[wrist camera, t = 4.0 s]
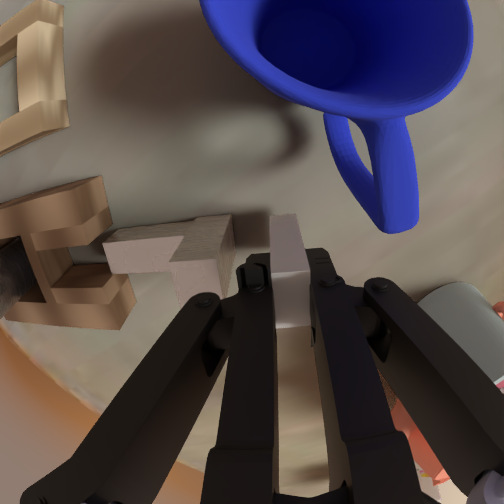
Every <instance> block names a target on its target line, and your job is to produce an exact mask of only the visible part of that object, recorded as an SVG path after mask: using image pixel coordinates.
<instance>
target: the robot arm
mask: <svg viewBox="0 0 504 504" xmlns="http://www.w3.org/2000/svg"><path fill="white" fill-rule="evenodd" d="M236 275H237V281H238V288H239V290H238V293H237V294H236V295H234V296H231V297H228V298H225V299H221V300H220V297H219V295H217V294H216V293H212V292H202V293H198V294H196V295H194V296H192V297H191V298H190V299H189V300H188V301H187V302H186V303H185V305H184V306H183V307H182V309H181V310H180V311H179V312H178V314H177V315H176V316H175V318H174V319H173V320H172V322H171V323H170V324H169V326H168V327H167V328H166V329H165V331H164V332H163V333H162V335H161V336H160V337H159V339H158V340H157V341H156V343H155V344H154V345H153V347H152V348H151V349H150V350H149V352H148V353H147V354H146V356H145V357H144V358H143V360H142V361H141V362H140V364H139V365H138V366H137V368H136V369H135V370H134V372H133V373H132V374H131V376H130V377H129V378H128V380H127V381H126V382H125V384H124V385H123V387H122V388H121V389H120V391H119V392H118V393H117V395H116V396H115V397H114V399H113V400H112V401H111V403H110V404H109V406H108V407H107V408H106V410H105V411H104V412H103V414H102V415H101V416H100V418H99V419H98V421H97V422H96V423H95V425H94V426H93V428H92V429H91V430H90V432H89V433H88V435H87V436H86V437H85V439H84V440H83V441H82V443H81V444H80V446H79V447H78V448H77V450H76V451H75V453H74V454H73V456H72V457H71V458H70V459H69V460H67V461H66V462H64V463H63V464H62V465H60V466H59V467H57V468H56V469H55V470H53V471H52V472H50V473H49V474H47V475H46V476H45V477H44V478H42V479H40V480H39V481H37V482H36V483H35V484H33V485H31V486H30V487H29V488H27V489H26V490H25V491H24V492H23V494H22V496H21V498H20V504H152V502H153V501H154V499H155V498H156V496H157V494H158V492H159V490H160V489H161V487H162V485H163V483H164V481H165V479H166V477H167V476H168V474H169V472H170V470H171V468H172V466H173V464H174V462H175V460H176V459H177V457H178V455H179V453H180V451H181V449H182V447H183V445H184V443H185V441H186V439H187V437H188V435H189V433H190V432H191V430H192V428H193V426H194V424H195V422H196V420H197V418H198V416H199V414H200V412H201V410H202V408H203V406H204V404H205V402H206V400H207V398H208V396H209V394H210V392H211V390H212V388H213V386H214V384H215V382H216V380H217V378H218V376H219V374H220V372H221V370H222V368H223V366H224V364H225V362H226V360H227V358H228V364H227V371H226V378H225V385H224V392H223V399H222V405H221V412H220V420H219V427H218V434H217V441H216V445H215V447H213V448H211V449H210V451H209V453H208V457H207V462H206V468H205V475H204V482H203V488H202V495H201V502H200V504H441V503H439V502H438V501H436V500H435V499H433V498H432V497H430V496H429V495H427V494H426V493H424V492H422V491H421V487H420V483H419V479H418V475H417V471H416V467H415V463H414V459H413V455H412V452H411V448H410V445H409V441H408V439H407V436H406V435H405V433H404V432H403V431H398V430H397V429H396V428H395V426H394V423H393V419H392V416H391V412H390V409H389V406H388V402H387V399H386V396H385V393H384V389H383V386H382V383H381V380H380V377H379V374H378V371H377V368H378V369H379V371H380V372H381V374H382V375H383V377H384V378H385V379H386V381H387V382H388V384H389V385H390V387H391V388H392V390H393V391H394V393H395V394H396V396H397V397H398V399H399V400H400V402H401V403H402V405H403V406H404V408H405V409H406V411H407V412H408V414H409V415H410V417H411V418H412V420H413V421H414V423H415V424H416V426H417V427H418V429H419V430H420V432H421V434H422V435H423V437H424V438H425V440H426V441H427V443H428V444H429V446H430V448H431V449H432V451H433V452H434V454H435V455H436V457H437V459H438V460H439V462H440V463H441V465H442V467H443V468H444V470H445V471H446V473H447V474H448V476H449V477H450V479H451V480H452V482H453V483H454V484H455V485H456V486H457V487H458V488H459V490H460V491H461V492H462V493H464V494H465V495H466V496H467V497H468V498H467V503H466V504H504V394H503V393H502V392H501V391H500V389H499V388H498V387H497V386H496V385H495V384H494V383H493V381H492V380H491V379H490V378H489V377H488V376H487V375H486V374H485V373H484V371H483V370H482V369H481V368H480V367H479V366H478V365H477V364H476V363H475V362H474V361H473V360H472V359H471V357H470V356H469V355H468V354H467V353H466V352H465V351H464V350H463V349H462V348H461V347H460V346H459V345H458V344H457V343H456V342H455V341H454V340H453V339H452V338H451V337H450V336H449V335H448V334H447V333H446V332H445V331H444V330H443V329H442V328H441V327H440V326H439V325H438V324H437V323H436V322H435V321H434V320H433V319H432V318H431V317H430V316H429V315H428V314H427V313H426V312H425V311H424V310H423V309H422V308H421V307H420V306H419V305H418V304H416V303H415V302H414V301H413V300H412V299H411V298H410V297H409V296H408V295H407V294H406V293H405V292H404V291H403V290H401V289H400V288H399V287H398V286H397V285H396V284H395V283H394V282H392V281H391V280H389V279H386V278H380V277H377V278H371V279H369V280H367V281H366V282H365V283H364V288H363V287H354V286H349V285H346V284H345V281H344V280H343V278H342V277H340V276H339V275H337V273H336V271H335V268H334V266H333V263H332V261H331V258H330V256H329V253H328V252H327V251H326V250H325V249H323V248H312V249H305V248H304V244H303V240H302V236H301V232H300V229H299V225H298V221H297V218H296V214H286V215H274V216H270V253H259V254H251V255H250V256H249V257H248V258H247V259H246V263H245V264H242V265H240V266H239V267H238V268H237V270H236ZM303 326H311V347H314V354H315V361H316V367H317V374H318V381H319V388H320V396H321V403H322V411H323V419H324V427H325V436H326V445H327V454H328V463H329V474H330V482H329V492H327V493H324V494H321V495H318V496H315V497H311V498H306V497H298V496H292V495H285V494H280V493H279V430H278V372H277V336H276V328H290V327H303ZM228 356H229V357H228ZM376 366H377V368H376Z"/></svg>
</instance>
